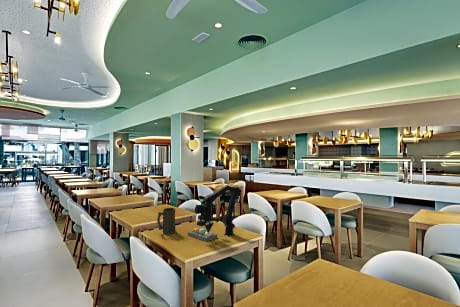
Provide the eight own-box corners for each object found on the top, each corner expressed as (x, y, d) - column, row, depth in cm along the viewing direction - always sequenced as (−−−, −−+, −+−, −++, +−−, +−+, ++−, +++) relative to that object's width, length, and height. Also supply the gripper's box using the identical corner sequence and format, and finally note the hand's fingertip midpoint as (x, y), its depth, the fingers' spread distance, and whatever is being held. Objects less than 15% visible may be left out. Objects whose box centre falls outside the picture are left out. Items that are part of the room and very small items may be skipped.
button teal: (202, 233, 202) (202, 228, 202) (206, 234, 199) (206, 229, 199) (197, 234, 198) (197, 229, 198) (201, 235, 195) (201, 230, 195)
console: (199, 231, 210) (199, 228, 210) (217, 237, 195) (217, 234, 195) (187, 235, 202) (187, 232, 202) (205, 241, 187) (205, 238, 187)
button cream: (208, 236, 197) (208, 231, 197) (212, 237, 194) (212, 232, 194) (203, 237, 194) (203, 232, 194) (207, 239, 190) (207, 233, 190)
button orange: (196, 232, 207) (197, 227, 207) (200, 233, 203) (200, 228, 203) (192, 233, 203) (192, 228, 203) (196, 235, 200) (196, 230, 200)
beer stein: (172, 229, 218) (171, 206, 217) (178, 232, 210) (177, 208, 209) (156, 234, 207) (154, 210, 206) (162, 237, 199) (160, 212, 199)
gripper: (210, 209, 206) (210, 227, 206) (192, 212, 193) (192, 233, 192) (219, 211, 199) (219, 230, 199) (201, 215, 185) (201, 236, 185)
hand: (208, 232), depth 194 cm, fingers closed, pressing on button cream
